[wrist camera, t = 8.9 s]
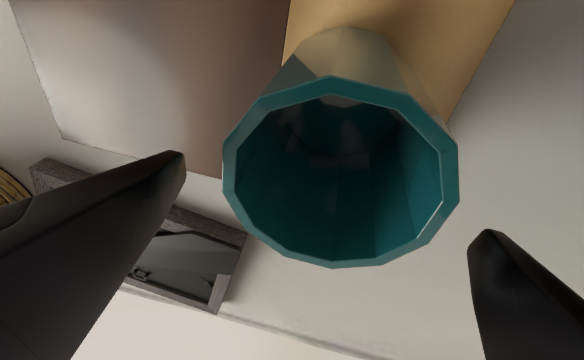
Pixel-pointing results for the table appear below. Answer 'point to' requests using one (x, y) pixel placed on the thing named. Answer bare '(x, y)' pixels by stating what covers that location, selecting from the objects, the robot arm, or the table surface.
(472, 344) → the table surface
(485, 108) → the table surface
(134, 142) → the serving board
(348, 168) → the teal cup
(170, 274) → the picture frame
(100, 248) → the robot arm
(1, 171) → the wooden mug
